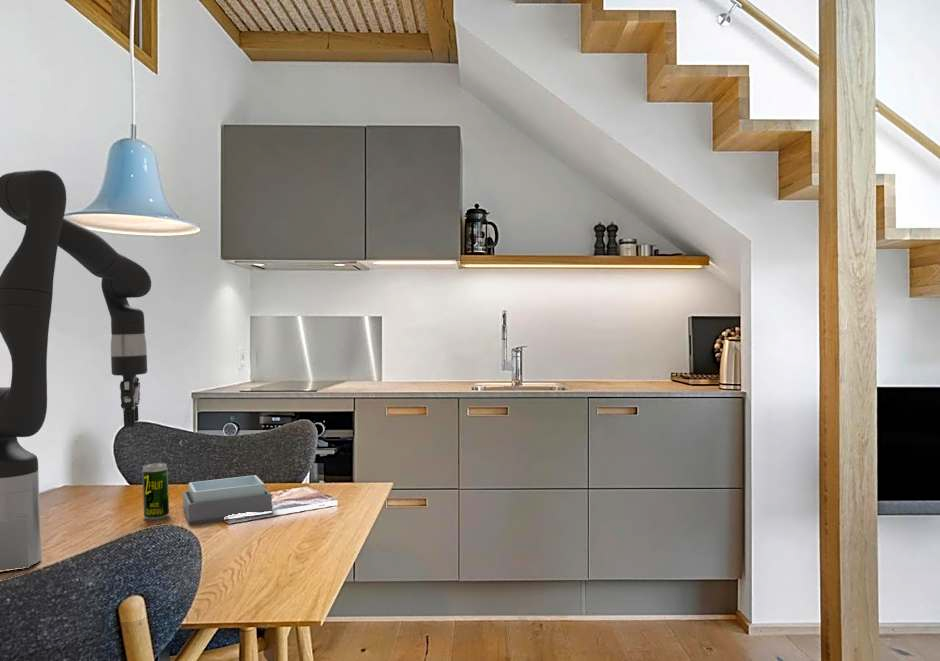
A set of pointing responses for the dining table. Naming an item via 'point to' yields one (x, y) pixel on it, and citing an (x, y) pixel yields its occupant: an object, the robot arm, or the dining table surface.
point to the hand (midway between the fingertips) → (131, 424)
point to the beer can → (155, 491)
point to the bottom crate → (224, 507)
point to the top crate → (225, 489)
